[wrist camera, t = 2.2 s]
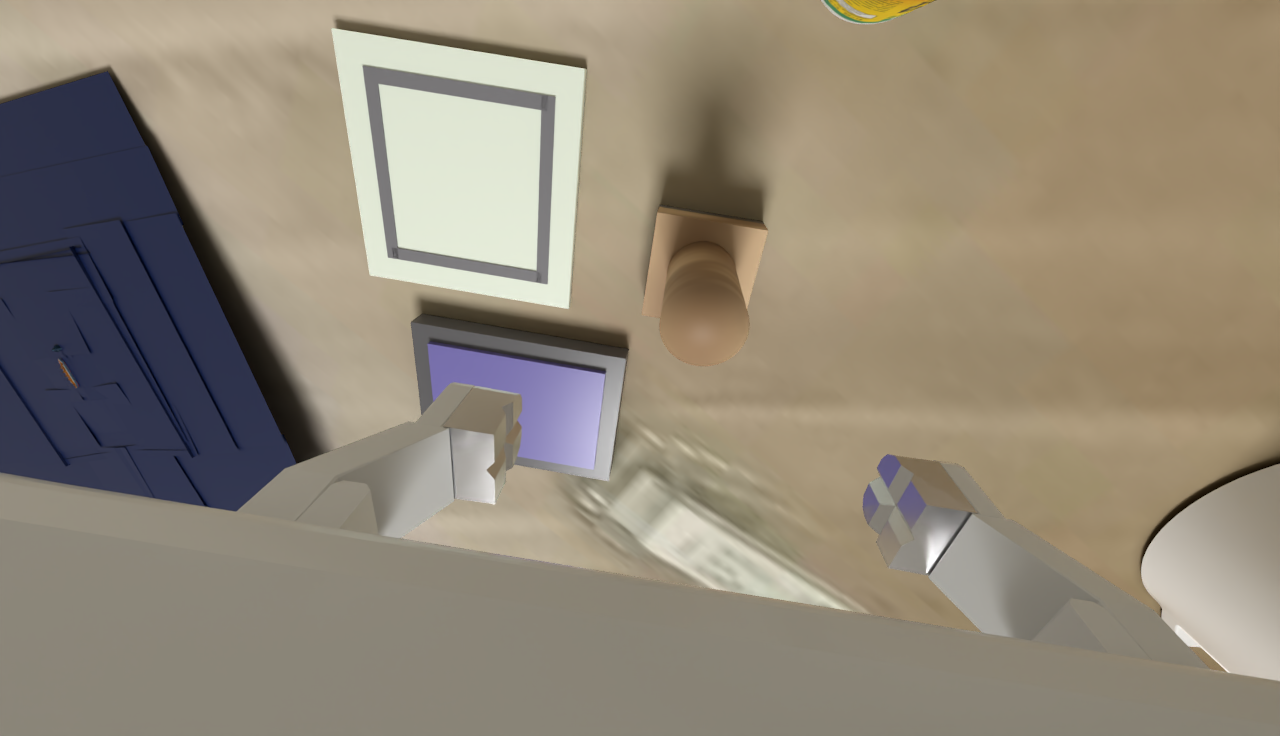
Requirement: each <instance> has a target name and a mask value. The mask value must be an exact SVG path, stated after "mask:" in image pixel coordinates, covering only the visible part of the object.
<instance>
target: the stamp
mask: <svg viewBox="0 0 1280 736" xmlns="http://www.w3.org/2000/svg"><path fill="white" fill-rule="evenodd" d="M767 234H768V229H767V228H766V226H765V225H764V223H763V222H762V221H756V220H750V219H744V218H738V217H732V216H726V215H720V214H714V213H708V212H702V211H696V210H690V209H684V208H678V207H671V206H665V205H660V206H659V209H658V212H657V218H656V224H655V231H654V237H653V244H652V250H651V257H650V263H649V270H648V276H647V283H646V289H645V296H644V302H643V309H642V315H644V316H650V317H656V318H660V324H659V327H660V335H661V338H662V341H663V343H664V345H665V346H666V348H667V349H668V350H669V352H670V353H671V354H672V355H674V356H675V357H676V358H678V359H679V360H681V361H683V362H685V363H688V364H691V365H696V366H711V365H716V364H719V363H722V362H724V361H726V360H728V359H730V358H731V357H733V356H734V355H735V354H736V353H737V352H738V351H739V350H740V349H741V348H742V346H743V345H744V343H745V341H746V339H747V336H748V333H749V326H750V322H749V315H748V311H747V307H748V303H749V300H750V296H751V292H752V289H753V285H754V281H755V278H756V274H757V270H758V267H759V263H760V260H761V256H762V252H763V249H764V245H765V241H766V238H767Z"/></svg>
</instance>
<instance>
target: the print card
mask: <svg viewBox="0 0 1280 736" xmlns="http://www.w3.org/2000/svg"><path fill="white" fill-rule="evenodd" d="M331 29H332V35H333V42H334V48H335V54H336V61H337V67H338V74H339V80H340V87H341V93H342V100H343V106H344V112H345V119H346V125H347V132H348V138H349V145H350V151H351V157H352V164H353V170H354V177H355V183H356V190H357V196H358V202H359V209H360V215H361V222H362V228H363V235H364V241H365V247H366V254H367V260H368V267H369V273H370V275H372V276H378V277H383V278H389V279H395V280H401V281H407V282H413V283H419V284H425V285H431V286H436V287H442V288H448V289H454V290H460V291H466V292H472V293H478V294H484V295H490V296H495V297H501V298H507V299H513V300H519V301H525V302H531V303H537V304H543V305H548V306H554V307H560V308H566V309H569V307H570V303H571V289H572V275H573V260H574V246H575V232H576V217H577V203H578V189H579V174H580V160H581V146H582V131H583V117H584V103H585V88H586V74H587V69H584V68H577V67H571V66H565V65H559V64H553V63H546V62H540V61H534V60H528V59H521V58H515V57H509V56H503V55H496V54H490V53H484V52H478V51H472V50H465V49H459V48H453V47H447V46H440V45H434V44H428V43H422V42H415V41H409V40H403V39H397V38H391V37H384V36H378V35H372V34H366V33H359V32H353V31H347V30H341V29H334V28H331Z"/></svg>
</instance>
